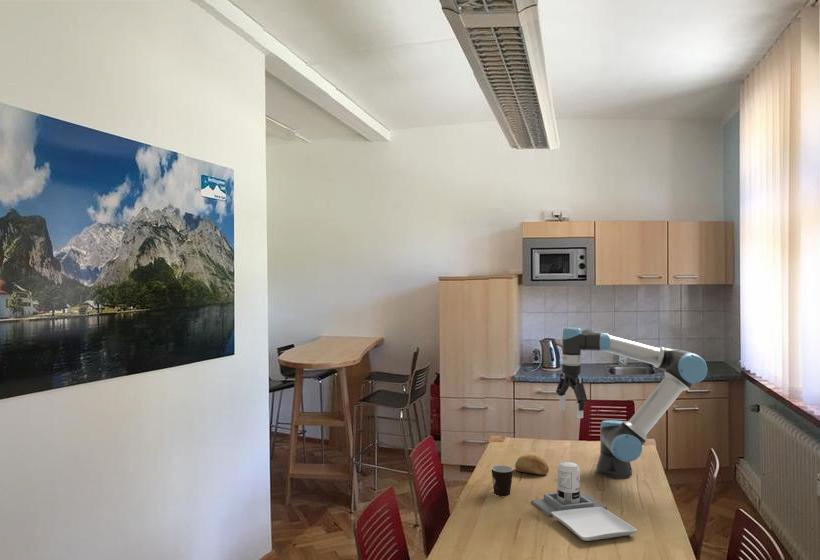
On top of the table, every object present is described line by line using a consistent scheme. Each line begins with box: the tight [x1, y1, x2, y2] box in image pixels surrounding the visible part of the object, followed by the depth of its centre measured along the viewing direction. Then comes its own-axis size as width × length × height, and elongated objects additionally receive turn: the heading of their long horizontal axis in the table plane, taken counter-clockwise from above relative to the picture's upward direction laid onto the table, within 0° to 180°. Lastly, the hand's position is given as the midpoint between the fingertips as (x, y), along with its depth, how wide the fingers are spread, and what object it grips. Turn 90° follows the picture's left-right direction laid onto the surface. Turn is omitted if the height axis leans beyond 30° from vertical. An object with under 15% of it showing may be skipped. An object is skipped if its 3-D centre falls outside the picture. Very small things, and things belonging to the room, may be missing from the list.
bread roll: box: [514, 454, 550, 476], centre depth 264 cm, size 10×15×8 cm, turn 63°
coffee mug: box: [490, 464, 514, 497], centre depth 241 cm, size 12×9×10 cm
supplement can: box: [556, 460, 581, 505], centre depth 227 cm, size 8×8×15 cm
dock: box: [530, 491, 608, 518], centre depth 227 cm, size 24×14×3 cm, turn 107°
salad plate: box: [551, 507, 638, 542], centre depth 207 cm, size 21×21×3 cm
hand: (570, 414), depth 253 cm, fingers open, 13 cm apart
